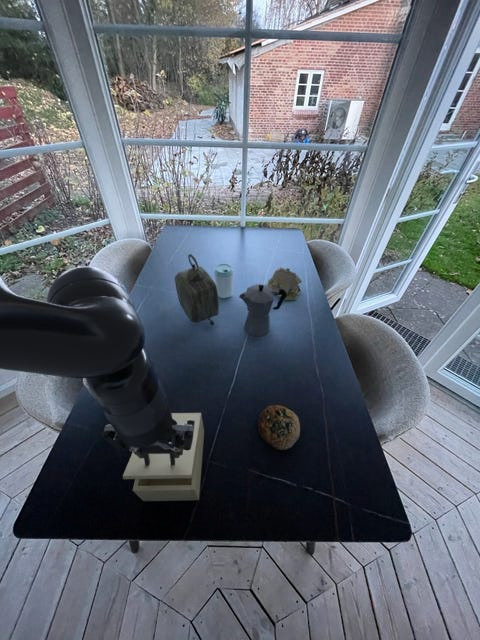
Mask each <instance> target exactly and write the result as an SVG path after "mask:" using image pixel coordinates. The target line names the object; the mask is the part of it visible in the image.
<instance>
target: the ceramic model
mask: <svg viewBox="0 0 480 640" xmlns="http://www.w3.org/2000/svg"><path fill="white" fill-rule="evenodd" d="M302 282H303V281H302V279H301V277H299V276H298V275H297V273H296V272H294V271H291V269H290V268H288V267H286V268H284V267H279V268H277V269H276V270H275V271H274V273H273V274H272V277H271V278H269V279H268V281H267V286H269V287H270V288H271V289H272V290H273V289H284V290H285V291H286V292H287V296H286V298H285V300H284V301H296V300H298V296H299V295H300V294H301V292H302V289H301V285H300V284H301V283H302ZM277 296H278V297H279V298H280V297H281V295H277Z"/></svg>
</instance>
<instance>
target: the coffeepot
mask: <svg viewBox="0 0 480 640" xmlns="http://www.w3.org/2000/svg"><path fill="white" fill-rule="evenodd" d="M278 295H281V297H279V299H278V301H277V302H276V303H277V304H276V306H274V307H272V306H273V303H274V300H275V296H278ZM286 296H287V292H286V291H285V290H284V289H273V290H272V289H271V288H270V287H269V286H268V284H267V285H266V284H265V285H264V284H259V283H256V284H254V285H251V286H248V287H247V288H246V291H244V292H242V293H240V294H239V296H238V297H239V299H241V300H242V301H243V302H244V303H245V305H246V309H247V315H246V319H245V323H244V326H243V329H244V330H245V331H246V333H247V334H249V336H250V335H251V336H254V337H262V336H265V335H266V334H268V333H269V332H270V327H271V321H270V320H271V319H270V311H271V309H272V310H274V311H277V310H279V309H280V308H281V306H282V305H283V303H284V302H285V301H286V300H285V298H286Z"/></svg>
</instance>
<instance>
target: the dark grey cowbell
mask: <svg viewBox="0 0 480 640" xmlns="http://www.w3.org/2000/svg"><path fill="white" fill-rule="evenodd" d="M187 257H188V261H189V264H190V267H191V268H188V269H185V270H182V271H179V272H178V273H176V275H175V276H174V283H175V290H176V294H177V299H178V302H179V305H180V306H181V308H182V309H183V311H184V313H185V315H186V316H187V318H188V319H189V321H191V322H192V323H201V322H203V321H206V320H208V321H209V324H210V325H211V326H214V325H215V324H216V322H215V320H213V319H212V318H213V317H217V316H219V311H220V310H219V308H220V307H219V306H220V305H219V297H218V293H217V288H216V285H215V282H214V279H213V278H212V277H211V276H210V274H209V273H208V272H207V271H206V270H205V269H204V268H203V267H202V266H201V265H199V264H198V261H197V259H196V257H194V255H193V254H192V253H188V256H187ZM192 260H193V262H194V263H193V262H192Z"/></svg>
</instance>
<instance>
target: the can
mask: <svg viewBox="0 0 480 640" xmlns="http://www.w3.org/2000/svg"><path fill="white" fill-rule="evenodd" d="M213 278H214V279H213V281H214V283H215V285H216V288H217V293H218V298H220V299H228V298H230V297H232V296H233V294H234V270H233V269H232V266H231V265H230V264H227V263H219V264H217V265H216V266H215V268H214V270H213Z"/></svg>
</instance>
